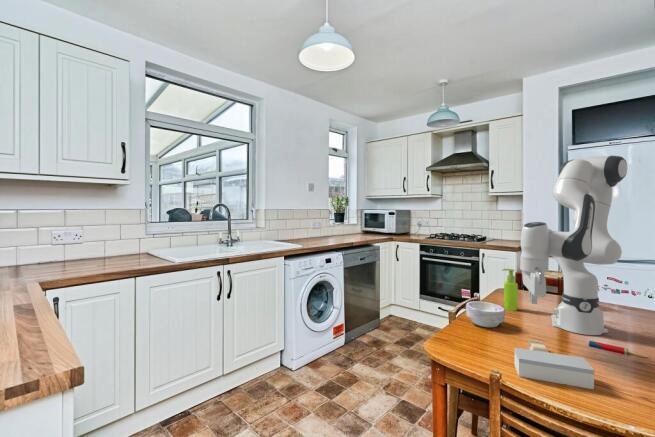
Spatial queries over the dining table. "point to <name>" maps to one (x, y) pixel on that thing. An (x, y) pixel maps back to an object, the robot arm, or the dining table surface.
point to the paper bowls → (485, 313)
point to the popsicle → (613, 349)
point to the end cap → (554, 368)
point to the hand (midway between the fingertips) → (533, 302)
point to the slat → (537, 346)
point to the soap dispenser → (510, 292)
